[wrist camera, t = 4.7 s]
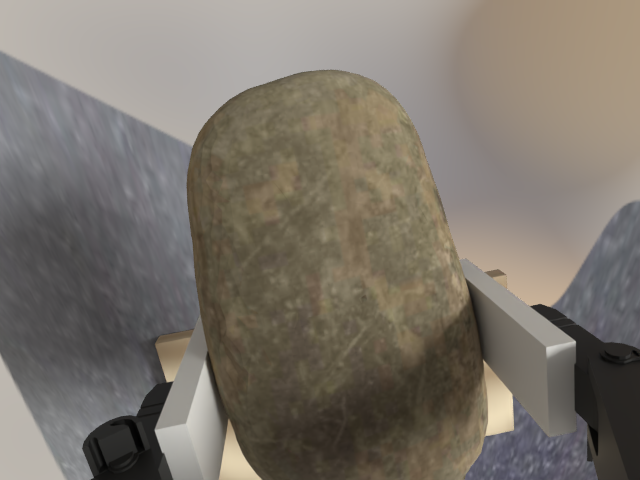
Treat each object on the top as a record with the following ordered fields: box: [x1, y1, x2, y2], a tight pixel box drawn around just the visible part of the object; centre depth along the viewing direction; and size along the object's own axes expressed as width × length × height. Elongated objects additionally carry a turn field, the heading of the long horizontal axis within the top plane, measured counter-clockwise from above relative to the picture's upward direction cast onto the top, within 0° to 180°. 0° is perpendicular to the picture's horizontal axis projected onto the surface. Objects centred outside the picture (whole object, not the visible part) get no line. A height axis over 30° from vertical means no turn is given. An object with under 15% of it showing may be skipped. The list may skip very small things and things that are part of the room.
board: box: [155, 270, 514, 480], centre depth 34 cm, size 14×26×1 cm, turn 100°
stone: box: [187, 70, 488, 480], centre depth 15 cm, size 9×14×10 cm, turn 14°
